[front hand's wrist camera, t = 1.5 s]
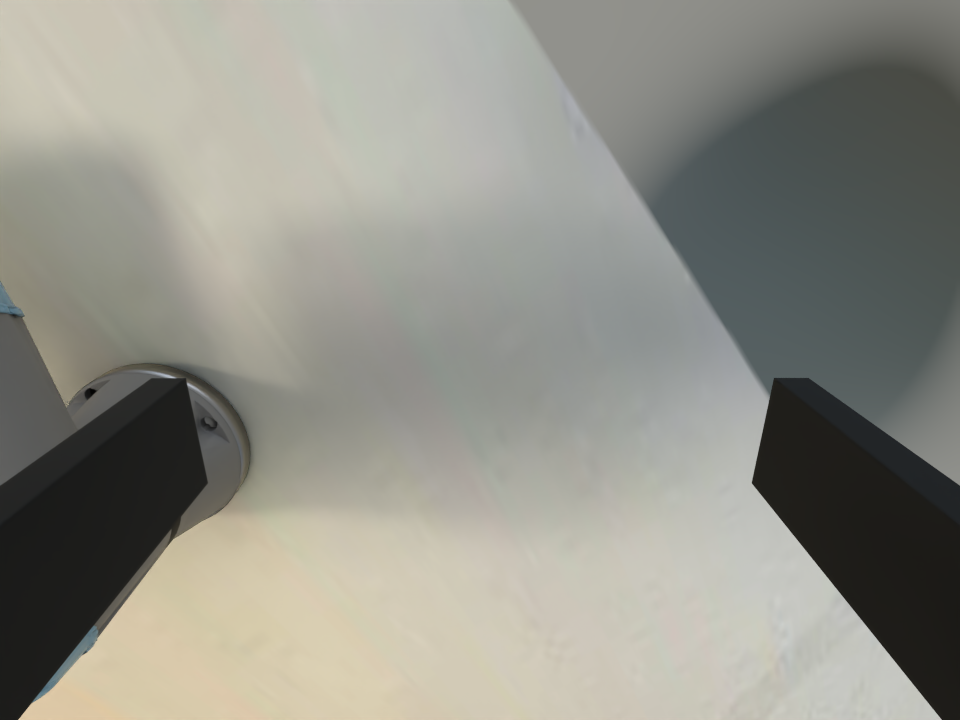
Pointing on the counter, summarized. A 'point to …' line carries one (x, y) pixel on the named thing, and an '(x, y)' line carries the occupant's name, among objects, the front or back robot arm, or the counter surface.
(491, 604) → the counter surface
